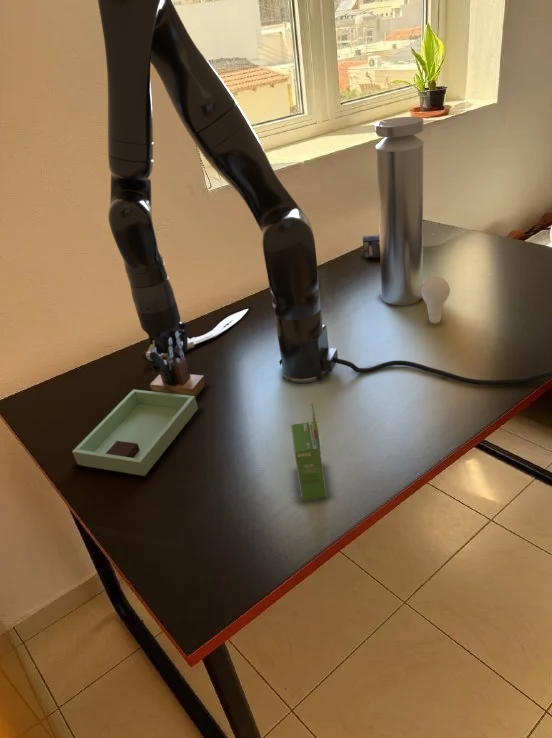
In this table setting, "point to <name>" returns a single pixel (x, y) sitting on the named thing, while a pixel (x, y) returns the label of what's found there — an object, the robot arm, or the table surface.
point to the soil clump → (124, 449)
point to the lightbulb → (435, 296)
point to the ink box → (308, 459)
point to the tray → (137, 431)
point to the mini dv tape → (371, 246)
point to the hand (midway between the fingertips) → (177, 379)
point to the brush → (179, 380)
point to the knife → (217, 329)
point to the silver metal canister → (400, 209)
